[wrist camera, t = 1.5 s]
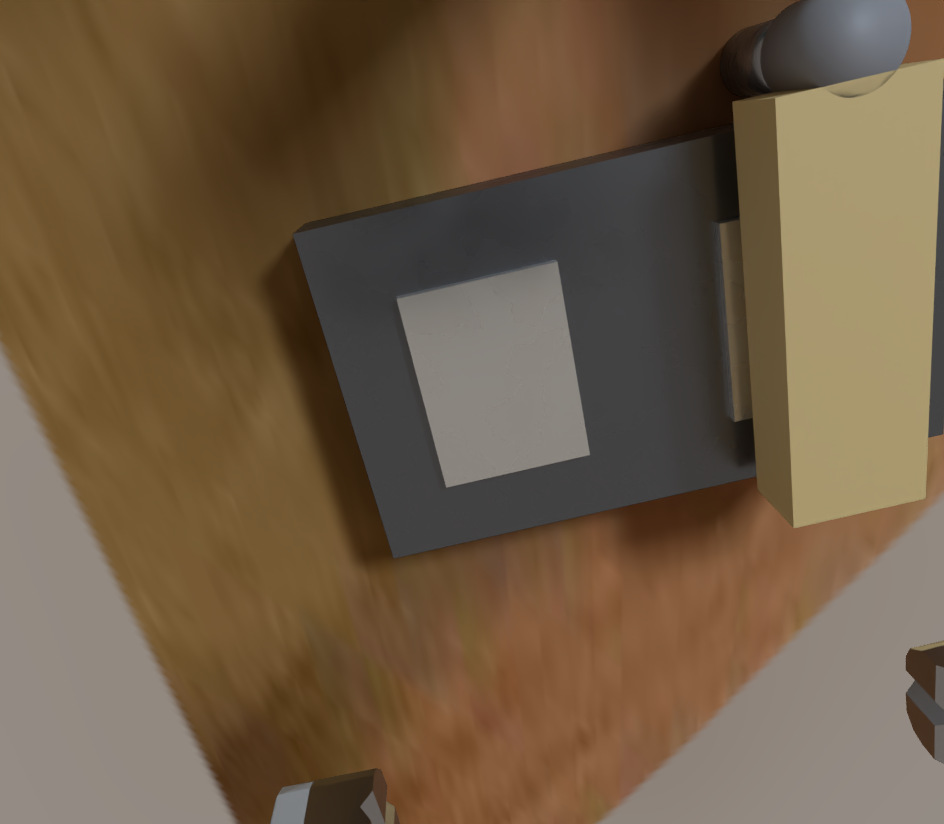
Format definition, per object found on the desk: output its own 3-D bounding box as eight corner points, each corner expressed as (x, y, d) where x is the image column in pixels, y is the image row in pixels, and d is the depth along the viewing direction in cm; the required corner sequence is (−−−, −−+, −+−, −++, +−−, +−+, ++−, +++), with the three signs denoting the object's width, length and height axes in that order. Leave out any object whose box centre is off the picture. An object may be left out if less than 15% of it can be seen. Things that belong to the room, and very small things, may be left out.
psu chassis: (279, 137, 26) (260, 139, 23) (908, -11, 26) (978, -31, 23) (395, 522, 33) (393, 565, 30) (898, 408, 32) (951, 439, 29)
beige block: (726, 17, 22) (770, 1, 19) (881, -19, 22) (948, -41, 19) (757, 489, 29) (793, 528, 26) (876, 462, 29) (925, 498, 26)
